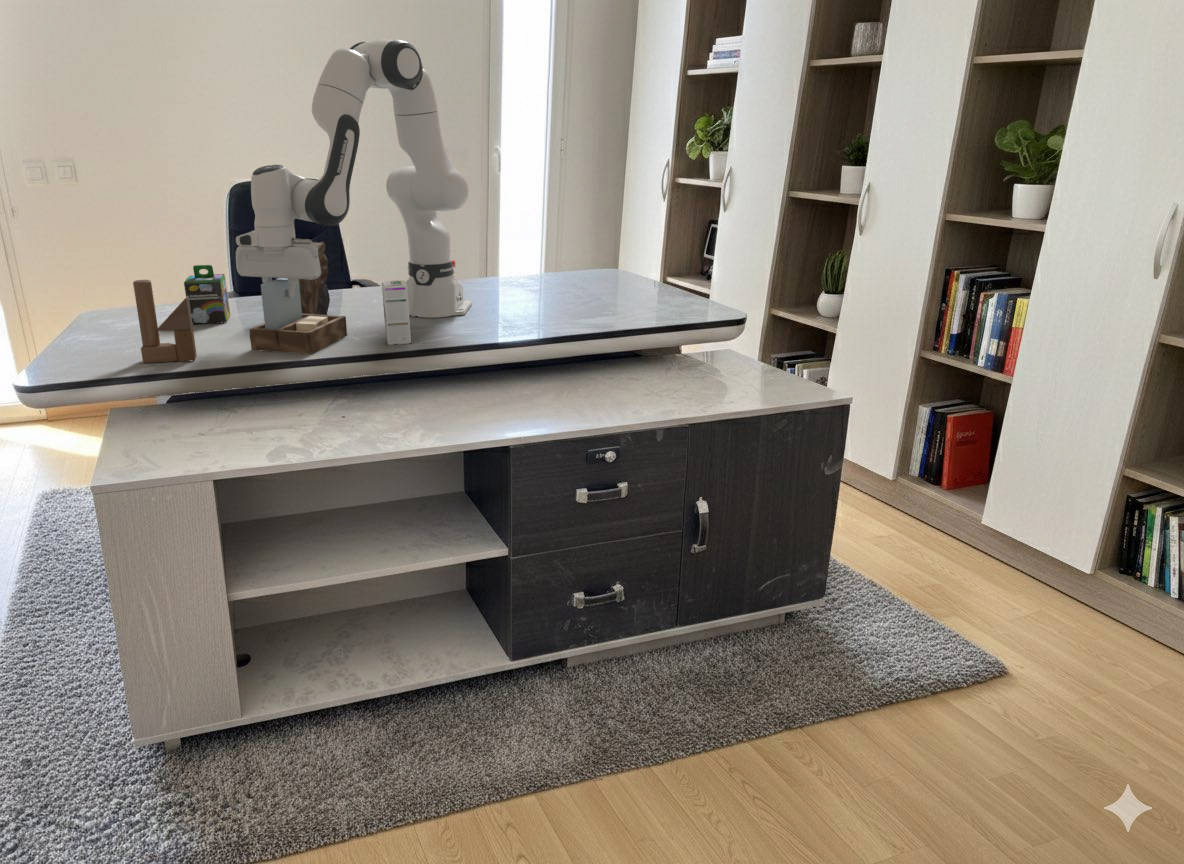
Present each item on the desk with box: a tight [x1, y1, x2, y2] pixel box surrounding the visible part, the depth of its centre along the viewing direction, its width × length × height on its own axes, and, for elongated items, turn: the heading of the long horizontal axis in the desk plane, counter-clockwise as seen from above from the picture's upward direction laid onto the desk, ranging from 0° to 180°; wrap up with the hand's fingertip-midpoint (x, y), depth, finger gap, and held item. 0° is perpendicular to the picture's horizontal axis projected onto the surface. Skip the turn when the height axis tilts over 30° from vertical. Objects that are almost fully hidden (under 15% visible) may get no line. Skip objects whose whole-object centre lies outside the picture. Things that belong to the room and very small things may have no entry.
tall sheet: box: [260, 278, 302, 329], centre depth 223 cm, size 12×3×15 cm, turn 168°
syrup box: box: [381, 280, 412, 346], centre depth 224 cm, size 6×6×14 cm
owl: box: [275, 241, 331, 315], centre depth 247 cm, size 13×13×20 cm
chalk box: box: [183, 264, 231, 324], centre depth 243 cm, size 9×9×15 cm
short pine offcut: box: [296, 316, 328, 332], centre depth 222 cm, size 8×5×2 cm, turn 174°
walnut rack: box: [248, 314, 348, 355], centre depth 224 cm, size 18×15×5 cm
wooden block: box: [132, 279, 197, 364], centre depth 205 cm, size 4×11×18 cm, turn 105°
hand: (281, 296), depth 221 cm, fingers closed on tall sheet, 3 cm apart
